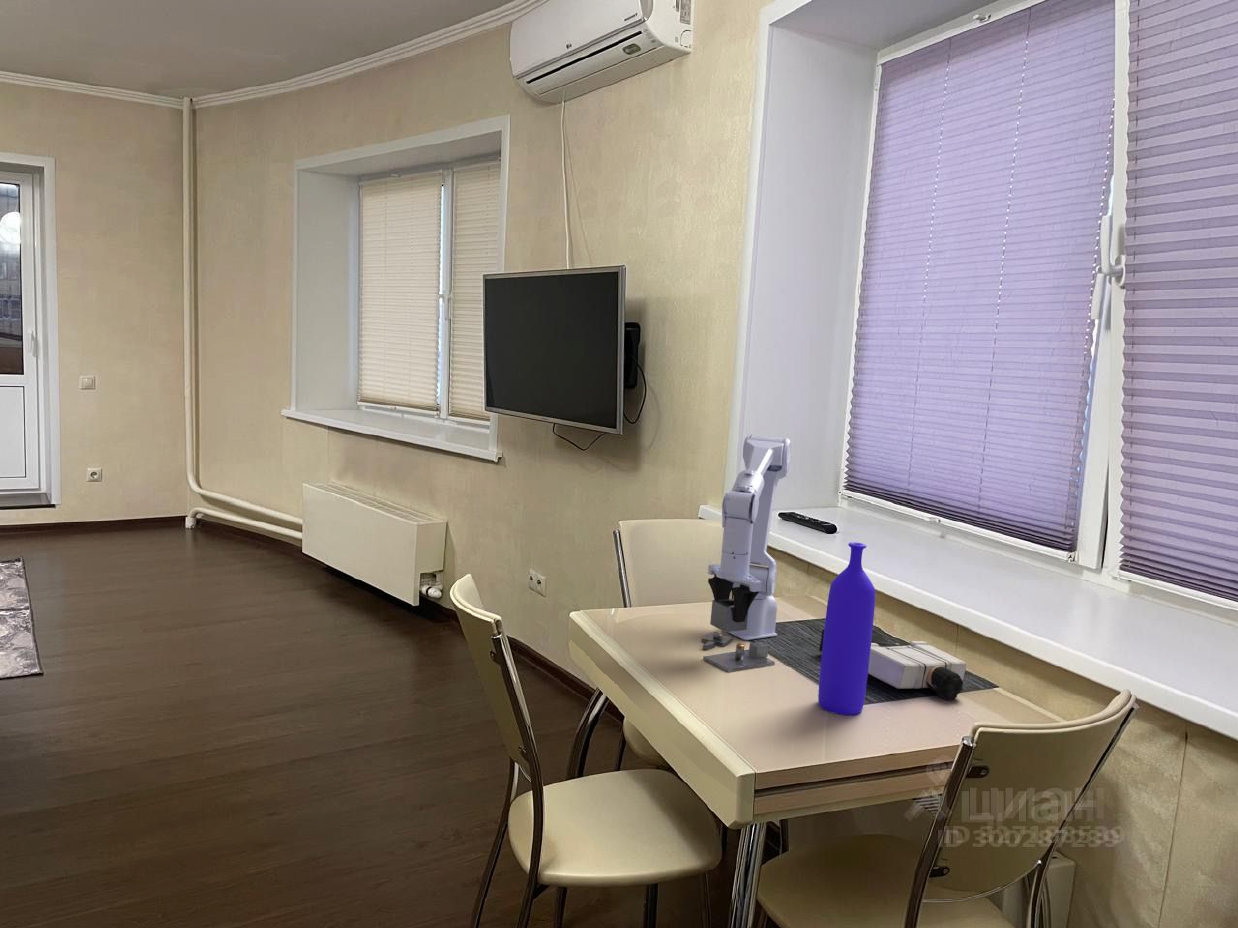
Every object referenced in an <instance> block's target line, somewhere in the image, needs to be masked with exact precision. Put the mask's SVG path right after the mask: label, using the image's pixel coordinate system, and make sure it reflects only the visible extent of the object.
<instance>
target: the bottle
mask: <svg viewBox="0 0 1238 928" xmlns="http://www.w3.org/2000/svg"><path fill="white" fill-rule="evenodd" d="M847 546H848V547H850V555H849V556H850V557H849V558H850V559H849V562H848V565H847V567H846V568H845V569H843V570H842V571H841V572H840V573H839V574H838V575H837V576H836V577H835V578H834V579H833V580H832V582H831V584H830V587H829V591H828V597H827V598H828V599H827V605H826V612H825V620H824V628H823V629H824V638H823V647H822V652H821V659H820V670H819V679H818V695H817V696H818V697H817V699H818V705H819V706H820V708H821V709H823V710H824V711H827V712H829V713H832V714H834V715H841V716H856V715H858V714H861V712H862V711H863V709H864V705H865V704H864V703H865V700H866V699H865V698H866V691H867V685H868V677H869V674H868V668H869V659H870V650H871V641H872V631H873V630H874V629H873V628H874V619H875V606H876V604H875V603H876V589H875V586H874V584H873V582H872V581H871V579H870V577H869V576H868V575H867V573H866V571H865V570H864V569H863V566H862V558H863V550H864V549H866V548H867V545H866V544H864V543H861V542H857V541H855V542H849V543H848V545H847Z"/></svg>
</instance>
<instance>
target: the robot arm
mask: <svg viewBox="0 0 1238 928" xmlns="http://www.w3.org/2000/svg"><path fill="white" fill-rule="evenodd" d="M791 454H792V441H791V440H790V438H789V437H788V438H787V437H785V438H782V437H774V436H773V437H772V436H762V435H752V434H751V433H750V434H748V435H747V436H746V437H745V438H744V441H743V446H742V458H743V461H744V462H743V463H744V467H745V469H743V470H741V472H739V473H738V475H737V477H736V479H735V481H734V484H733V486H732V489H731V490H729V492H725V494H724V495H723V499H722V504H721V516H722V518H721V519H722V522H721V527H722V529H723V533H722V544H721V557H720V564H717V563H714V564H713V563H712V564H708V568H707V570H708V571H707V574H708V575H710V576H712V578H708V579H707V580H708V581H707V583H708V584H709V586H710V589H711V593H712V596H713V600H722V599H730V596H731V594H732V597H733V599H734V621H735V622H744V621H745V618H746V616H747V613H748V619H747V629H746V630H741V631H732V632H727V633H728V634H731V635H732V636H734V637H736V638H740V639H742V640H743V641H749V640H750V641H751V640H756V639H764V638H769V637H771V638H772V637H777V636H778V633H776V623H777V614H778V613H777V612H778V604H777V601H776V598H775V597H774V595H773V594H774V592H775V589H776V584H777V583H776V582H777V569H778V566H777V562H776V560H775V559H774V558H773V557H772V556H771V555H770V554H769V553H768V552H767V550H768V549H767V548H768V542H769V536H770V535H769V534H770V528H771V522H772V516H773V509H774V501H775V496H776V488H777V487H778V484H779V481H780V480H781V479H784V478H786V477H787V476H788V472H789V468H790V463H791V461H790V460H791V457H792V456H791ZM758 565H759V566H758Z"/></svg>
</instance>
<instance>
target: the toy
mask: <svg viewBox="0 0 1238 928" xmlns="http://www.w3.org/2000/svg"><path fill="white" fill-rule="evenodd" d="M823 638H824V628H823V629H822V631H821V636H820V641H819V642H820V643H819V649H818V650H819V652H821V653H822V647H823ZM966 669H967V664H966V662H965V661H964V660H961V659H959V658H957V657H955V656H953V655H951V654H950V653H947V652H945V651H943V650H941V649H939V648H937V647H935V646H933V645H931V644H929V642H926V641H924V640H921V641H920V640H910V641H909V642H908V644H907V643H898V642H891V641H888V640H887V639H885V638H884V637H883V635H881V634H879V633H878V632H876V631H875V630H874V629H873V631H872V641H871V650H870V659H869V668H868V675H871V676H872V677H874V678H876V679H878V680H880V681H882V682H884V683H886V684H888V685H890V686H892V687H894V688H895V689H916V690H917V689H918V690H919V689H927V688H929V689H930V690H932V691H933V692H934V693H936V694H937V696H938V697H939V698H942V700H944V701H954V700H955V699H956V698H958V695H959V694H961V692H962V691H963V685H964V677H965V673H966Z"/></svg>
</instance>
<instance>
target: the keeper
mask: <svg viewBox="0 0 1238 928" xmlns="http://www.w3.org/2000/svg"><path fill="white" fill-rule="evenodd" d="M735 645H736V646H735V651H730V652H725V653H717V654H711V655H704V656H703V657H702V659H703V661H706V662H707V663H710V664H711V665H713V666H715V667H717V668H719V669H722V670H723V671H725V672H727V673H732V672H740V671H744V670H750V669H755V668H761V667H762V668H763V667H769V666H774V665H775V664H776V663H775V661H774V660H772V659H770V658H769V657H768V655H769V644H767V643H764V642H763V641H756V642H751V643H749V647H748V649H745V644H743V643H740V642H738V643H736V644H735Z"/></svg>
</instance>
